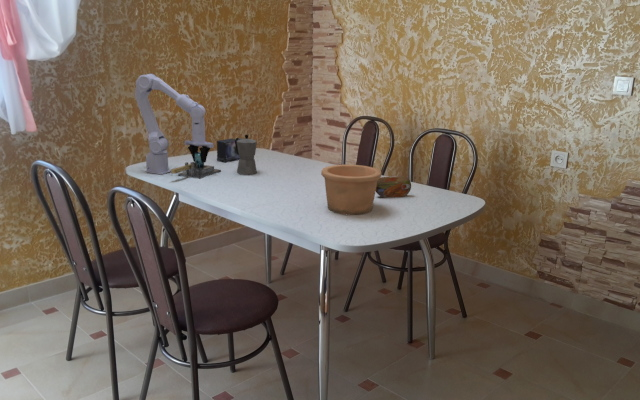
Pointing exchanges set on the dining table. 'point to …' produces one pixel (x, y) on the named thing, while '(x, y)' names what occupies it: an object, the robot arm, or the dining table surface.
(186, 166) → the pin
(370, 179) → the pottery
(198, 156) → the teal glass cylinder
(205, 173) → the dock
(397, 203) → the dining table surface
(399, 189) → the tin
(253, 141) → the coffeepot
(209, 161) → the dining table surface
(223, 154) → the small box
